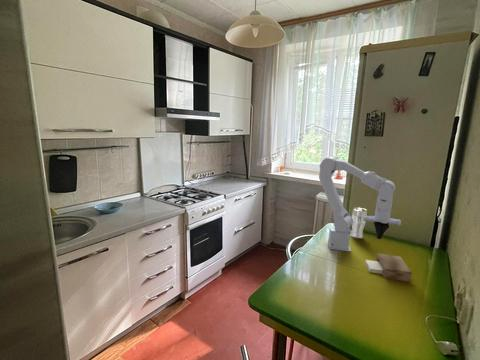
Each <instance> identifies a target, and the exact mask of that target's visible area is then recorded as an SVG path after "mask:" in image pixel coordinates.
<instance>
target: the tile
mask: <svg viewBox="0 0 480 360" xmlns="http://www.w3.org/2000/svg"><path fill="white" fill-rule="evenodd" d="M364 264H365V266H366V268H367V270H368V272H369V273H375V274H380V275H382V273H383V266H382V264H381V263H380V262H378V261H376V260H369V259H365V262H364Z"/></svg>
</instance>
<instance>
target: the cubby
mask: <svg viewBox="0 0 480 360" xmlns="http://www.w3.org/2000/svg"><path fill="white" fill-rule="evenodd" d="M375 257H376V258H375V261H378V262H380V263H381V264H382V266H383V273H382V274H381V275H382V277H383V278H384V279H390V280H395V281H396V280H397V281H403V282H409V283H410V282H411V279H412V278H411V277H412V273H413V272H412V271H411V269H410V268H409V266H408V265H407V264H406V263H405V261H404V259H403V258H402V257H401V256H398V255H390V254H383V253H376V256H375Z"/></svg>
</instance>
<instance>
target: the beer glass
mask: <svg viewBox="0 0 480 360" xmlns="http://www.w3.org/2000/svg"><path fill="white" fill-rule="evenodd" d="M367 213H368V210H367V209H366V208H363V207H358V206H357V207H353V208H352V213H351V217H352V219H353V223H352V225H351V235H350V237H352V238H355V239H363V238H364V237H363V236H364V234H363V233H364V228H365V225H366V222H364V221H363V216H368V214H367Z"/></svg>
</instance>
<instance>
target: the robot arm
mask: <svg viewBox="0 0 480 360" xmlns="http://www.w3.org/2000/svg"><path fill="white" fill-rule="evenodd" d="M336 171H344V172H347V173H349V174H351V175H352V176H354V177H356V178H359V179H360V182H361V183H362V184H364V185H366V186H368V187H370V188H371V189H373V190H375V191H377V193H378V196H377V198H376V203H375V211H374V215H367V216H363V221H364V222H365V223H366V222H371V223H373V225H374V229H375V233H376V236H375V237H376V238H377V240H382V238H383V235H384V234H385V232H386V231H387V230H388V229H389V228H390V225H397V226H401V225H402V221H401V219H398V218H397V219H396V218H392V217H391V213H392V206H393V198H394V192H395V191H396V184H395V183H394V182H393V181H392V180H390V179H387V178H386V177H381V176H379V174H378V175H377V173H376V172H375V171H369V170H368V171H364V170H362V169H360V168H358V167H357V166H355V165H353V164H352V163H349V162H348V161H346V160H344V159H342V158H339V157H338V156H335V155H334V156H333V155H332V156H330V157H326V158H323V160H322V161H321V163H320V164H319V174H318V179H319V181H320V184H321V186H322V189H323V191H324V194H325V196H326V199H327V201H328V204H329V205H330V208H331V211H332V213H333V214H332V219H333V226H334V227H331V228H329V231H328V238H327V243H328V248H329V250H336V251H341V252H342V251H343V252H352V250H351V247H350V243H351V242H350V240H351V231H352V228H351V227H352V223H353V219H352V215H350V214H349V211H347V209H345V207H344V204H343V202H342V200H341V198H340V196H339V193H338V191H337V188H336V186H335V184H334V181H333V179H332V177H333V175H334V173H335V172H336ZM389 224H390V225H389Z"/></svg>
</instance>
